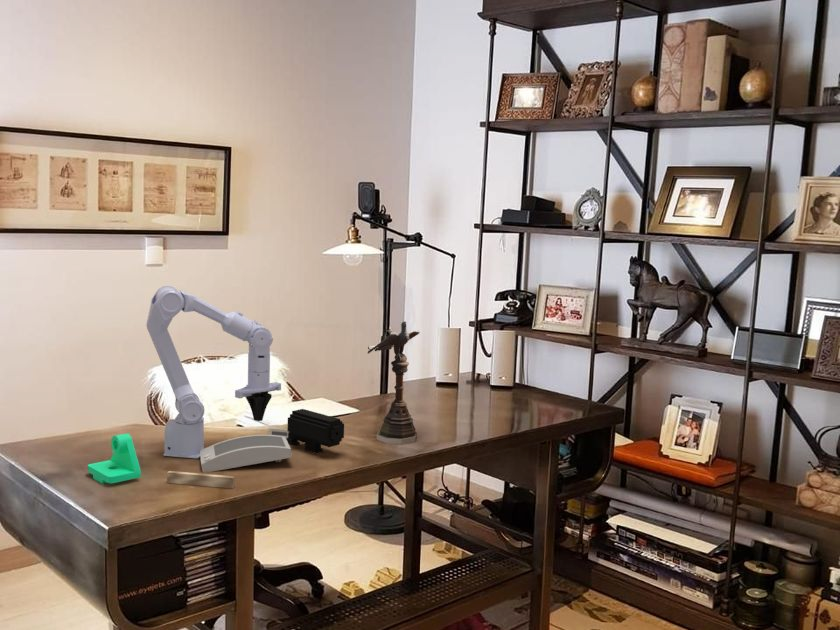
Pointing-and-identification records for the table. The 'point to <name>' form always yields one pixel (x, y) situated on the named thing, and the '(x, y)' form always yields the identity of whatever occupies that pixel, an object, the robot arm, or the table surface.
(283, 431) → the label tag
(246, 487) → the table surface
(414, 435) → the bird statue
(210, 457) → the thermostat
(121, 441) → the camera mount
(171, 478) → the rail
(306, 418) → the security camera
